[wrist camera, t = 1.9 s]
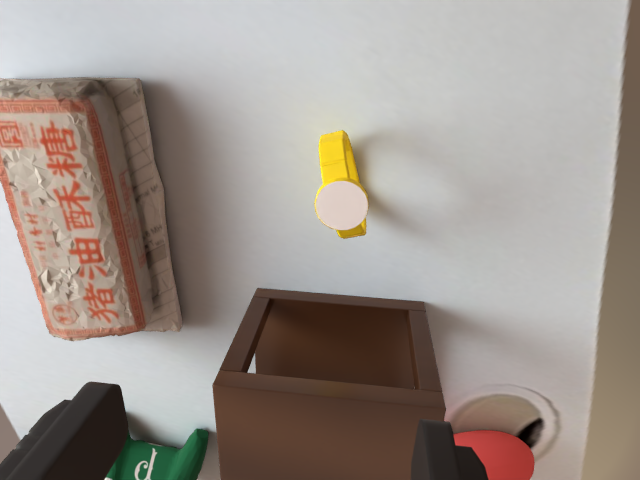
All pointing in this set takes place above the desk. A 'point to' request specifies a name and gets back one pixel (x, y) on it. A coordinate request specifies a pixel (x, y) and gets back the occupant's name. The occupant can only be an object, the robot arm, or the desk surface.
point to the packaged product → (88, 205)
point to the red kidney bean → (499, 454)
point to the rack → (325, 388)
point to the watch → (340, 188)
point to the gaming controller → (160, 460)
